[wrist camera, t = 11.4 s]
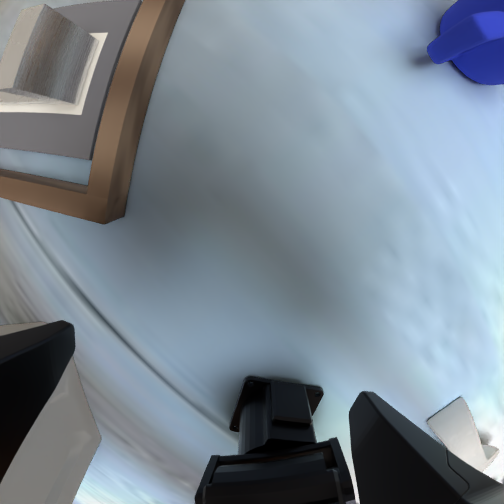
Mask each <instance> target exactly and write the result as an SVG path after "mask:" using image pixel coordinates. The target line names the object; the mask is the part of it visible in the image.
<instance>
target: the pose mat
mask: <svg viewBox="0 0 504 504" xmlns="http://www.w3.org/2000/svg"><path fill="white" fill-rule="evenodd" d="M141 3H142V1H141V0H113V1H102V2H93V3H85V4H77V5H71V6H65V7H59V8H54V10H55V11H57V12H58V13H60V14H61V15H63V16H64V17H66V18H67V19H69V20H70V21H72V22H73V23H75V24H76V25H77V26H79V27H80V28H82V29H83V30H85V31H86V32H87V33H89V34H90V35H92V36H93V37H94V38H96V39H97V40H99V42H98V45H97V48H96V50H95V53H94V56H93V59H92V61H91V64H90V67H89V70H88V74H87V77H86V80H85V83H84V86H83V90H82V93H81V97H80V100H79V104H78V105H62V104H5V105H2V104H0V148H8V149H16V150H24V151H32V152H39V153H47V154H54V155H60V156H67V157H73V158H80V159H86V160H92V156H93V151H94V146H95V142H96V137H97V133H98V128H99V124H100V120H101V116H102V112H103V109H104V105H105V101H106V98H107V94H108V91H109V87H110V84H111V81H112V78H113V75H114V71H115V68H116V65H117V63H118V60H119V57H120V54H121V51H122V49H123V46H124V43H125V41H126V38H127V35H128V33H129V30H130V28H131V25H132V23H133V21H134V18H135V16H136V14H137V11H138V9H139V7H140V5H141Z"/></svg>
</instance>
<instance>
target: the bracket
mask: <svg viewBox="0 0 504 504" xmlns="http://www.w3.org/2000/svg"><path fill="white" fill-rule="evenodd" d="M98 42H99V40H97V39H96V38H94V37H93V36H92V35H90V34H89V33H87V32H86V31H85V30H83V29H82V28H80V27H79V26H77V25H76V24H75V23H73V22H72V21H70V20H69V19H67V18H66V17H64V16H63V15H61V14H60V13H58V12H57V11H55V10H54V9H52V8H51V7H49V6H48V5H46V4H41V5H37V6H34V7H30V8H27V9H23V10H22V11H21V13H20V15H19V17H18V19H17V21H16V24H15V26H14V28H13V31H12V33H11V35H10V38H9V40H8V43H7V46H6V48H5V51H4V54H3V56H2V59H1V62H0V104H2V105H5V104H62V105H78V104H79V100H80V97H81V93H82V90H83V86H84V83H85V80H86V77H87V74H88V70H89V67H90V64H91V61H92V59H93V56H94V53H95V50H96V48H97V45H98Z"/></svg>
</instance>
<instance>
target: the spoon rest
mask: <svg viewBox="0 0 504 504" xmlns="http://www.w3.org/2000/svg"><path fill="white" fill-rule="evenodd" d="M427 423H428V425H429V427H430V428H431V429H432V430H433V432H434V433H435V434H436V435H437V437H438V438H439V439H440V440H441V441H442V442H443V443H444V445H445V446H446V447H447V448H448V450H449V451H451V452H452V453H453V454H455V455H456V456H457V457H459V458H460V459H462V460H463V461H464V462H466V463H467V464H469V465H471V466H472V467H474V468H475V469H477V470H479V471H480V472H483V471H484V470H485V469H486V468H487V467H488V466H489V465H490V464H491V463H492V462H493V461H494V459H495V458H496V457H497V455H498V453H499V449H498V448H496V447H494V446H490V445H482V444H481V441H480V437H479V434H478V431H477V428H476V426H475V423H474V419H473V417H472V415H471V412H470V410H469V407H468V405H467V403H466V402H465V400H464V399H463V398H462V397H461V398H458V399H457V400H455V401H454V402H453V403H451V404H450V405H448V406H447V407H446V408H444V409H443V410H441V411H440V412H438V413H437V414H436V415H434V416H433V417H432V418H430V419H429V420H428V422H427Z"/></svg>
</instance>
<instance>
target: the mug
mask: <svg viewBox="0 0 504 504" xmlns="http://www.w3.org/2000/svg"><path fill="white" fill-rule="evenodd" d="M440 34H441V35H440V36H439V37H438V38H436V39H435V40H434V41H432V42H431V43H430V44H429V45H428V47H427V52H428V54H429V56H430V58H431V59H432V61H433V62H434V63H436V64H441V63H444V62H447V61H449V60H452V61H453V63H454V64H455V65H456V66H457V67H458V69H459V70H460V71H462V72H463V73H464V74H465V75H466V76H467V77H469V78H470V79H472V80H474V81H476V82H478V83H481V84H486V85H499V84H504V0H458V1H457V2H456V3H455V4H453V5H452V6H451V7H450V8H449V9H448V10H447V11H446V12H445V14H444V15H443V17H442V20H441V23H440Z"/></svg>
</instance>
